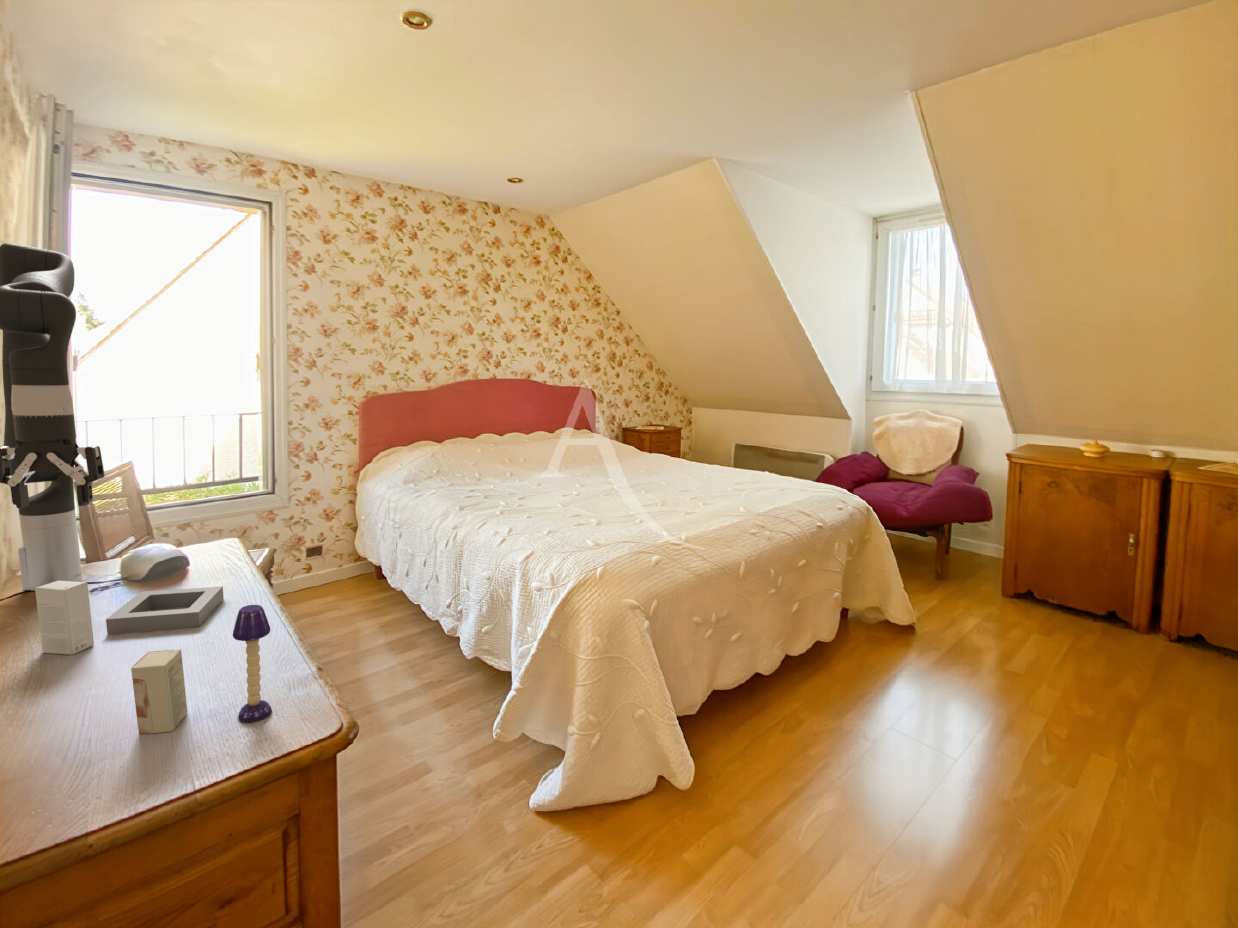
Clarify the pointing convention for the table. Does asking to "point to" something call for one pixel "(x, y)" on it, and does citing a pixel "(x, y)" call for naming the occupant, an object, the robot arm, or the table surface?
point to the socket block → (140, 619)
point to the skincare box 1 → (64, 617)
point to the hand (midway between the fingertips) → (53, 506)
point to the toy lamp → (252, 659)
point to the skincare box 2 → (159, 691)
